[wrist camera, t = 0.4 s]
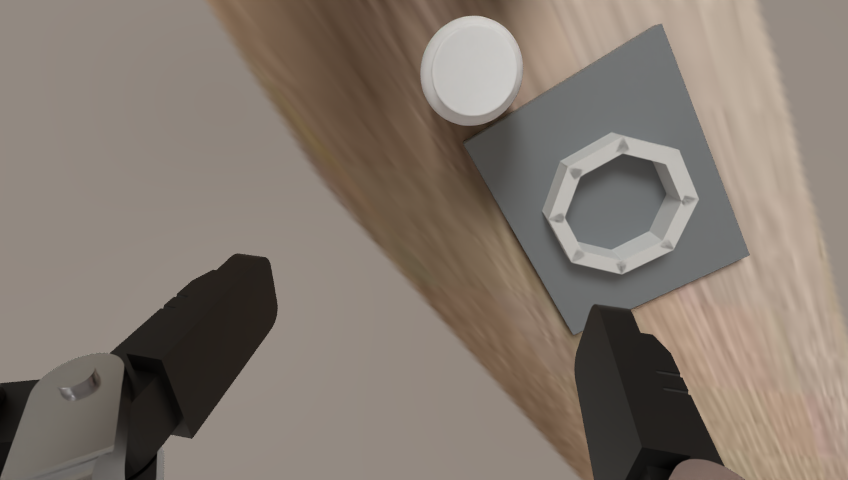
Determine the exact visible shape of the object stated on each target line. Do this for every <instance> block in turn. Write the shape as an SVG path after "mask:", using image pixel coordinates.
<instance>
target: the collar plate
mask: <svg viewBox="0 0 848 480" xmlns="http://www.w3.org/2000/svg"><path fill="white" fill-rule="evenodd" d="M463 144H464V146H465V148H466V150H467V151H468V153H469V155H470V157H471V158H472V160H473V162H474V163H475V165H476V167H477V169H478V170H479V172H480V174H481V176H482V177H483V179H484V181H485V183H486V184H487V186H488V188H489V190H490V191H491V193H492V195H493V197H494V198H495V200H496V202H497V203H498V205H499V207H500V209H501V210H502V212H503V214H504V216H505V217H506V219H507V221H508V223H509V224H510V226H511V228H512V230H513V231H514V233H515V235H516V236H517V238H518V240H519V242H520V243H521V245H522V247H523V249H524V250H525V252H526V254H527V256H528V257H529V259H530V261H531V263H532V264H533V266H534V268H535V269H536V271H537V273H538V275H539V276H540V278H541V280H542V282H543V283H544V285H545V287H546V289H547V290H548V292H549V294H550V296H551V297H552V299H553V301H554V303H555V304H556V306H557V308H558V309H559V311H560V313H561V315H562V316H563V318H564V320H565V322H566V323H567V325H568V327H569V329H570V330H571V332H572V334H573V335H575V334H577V333H579V332H581V331H583V330H584V327H585V324H586V321H587V318H588V315H589V312H590V309H591V307H592V306H593V305H594V304H599V305H606V306H613V307H620V308H627V309H632V308H634V307H636V306H639V305H641V304H643V303H645V302H647V301H650V300H652V299H654V298H656V297H658V296H661V295H663V294H665V293H667V292H669V291H672V290H674V289H676V288H678V287H680V286H683V285H685V284H687V283H689V282H692V281H694V280H696V279H698V278H700V277H703V276H705V275H707V274H709V273H711V272H714V271H716V270H718V269H720V268H722V267H725V266H727V265H729V264H731V263H733V262H736V261H738V260H740V259H742V258H744V257H747V256H749V255H750V254H749V252H748V249H747V247H746V244H745V241H744V239H743V236H742V233H741V231H740V228H739V225H738V223H737V220H736V218H735V215H734V212H733V210H732V207H731V204H730V202H729V199H728V197H727V194H726V191H725V189H724V186H723V183H722V181H721V178H720V176H719V173H718V170H717V168H716V165H715V162H714V160H713V157H712V155H711V152H710V149H709V147H708V144H707V141H706V139H705V136H704V134H703V131H702V128H701V126H700V123H699V120H698V118H697V115H696V112H695V110H694V107H693V105H692V102H691V99H690V97H689V94H688V91H687V89H686V86H685V84H684V81H683V78H682V76H681V73H680V70H679V68H678V65H677V63H676V60H675V57H674V55H673V52H672V49H671V47H670V44H669V42H668V39H667V36H666V34H665V31H664V28H663V26H662V24H658V25H654V26H653V27H651V28H649V29H648V30H646V31H644V32H643V33H641V34H639V35H638V36H636V37H635V38H633V39H631V40H630V41H628V42H626V43H625V44H623V45H621V46H620V47H618V48H616V49H615V50H613V51H612V52H610V53H608V54H607V55H605V56H603V57H602V58H600V59H598V60H597V61H595V62H594V63H592V64H590V65H589V66H587V67H585V68H584V69H582V70H580V71H579V72H577V73H576V74H574V75H572V76H571V77H569V78H567V79H566V80H564V81H562V82H561V83H559V84H557V85H556V86H554V87H553V88H551V89H549V90H548V91H546V92H544V93H543V94H541V95H539V96H538V97H536V98H535V99H533V100H531V101H530V102H528V103H526V104H525V105H523V106H521V107H520V108H518V109H517V110H515V111H513V112H512V113H510V114H508V115H507V116H505V117H503V118H502V119H500V120H498V121H497V122H495V123H494V124H492V125H490V126H489V127H487V128H485V129H484V130H482V131H480V132H479V133H477V134H476V135H474V136H472V137H471V138H469V139H467V140H466V141H464V142H463Z"/></svg>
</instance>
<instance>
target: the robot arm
mask: <svg viewBox="0 0 848 480" xmlns="http://www.w3.org/2000/svg"><path fill="white" fill-rule="evenodd" d="M277 306H278V305H277V299H276V294H275V287H274V281H273V276H272V270H271V265H270V262H269V260H268V259H267V258H266V257H260V256H252V255H245V254H234V255H233V256H231V257H230V258H229V259H228V260H227V261H226V262H225V263H224V264H223V265H222V266H220V267H219V268H218V269H217V270H212V271H210V272H208V273H206V274H204V275H202V276H200V277H198V278H196V279H194V280H192V281H191V282H190V283H189V284H188V285H187V286H186V287H184V288H183V289H182V290H181V291H180V292H179V293H178V294H177V296H176V297H173V298H172V299H171V300H170V301H168V302H167V303H166V304H165V305H164V308H163V309H159V310H158V311H157V312H156V313H155V314H154V315H153V316H151V317H150V318H149V319H148V320H147V321H146V322H145V323H144V324H142V325H141V326H140V327H139V328H138V329H137V330H136V331H134V332H133V333H132V334H131V335H130V336H129V337H128V338H127V339H125V340H124V341H123V342H122V343H121V344H120V345H119V346H118V347H116V348H115V349H114V350H113V351H112V352H111V353H109V354H108V353H96V354H90V355H85V356H82V357H78V358H75V359H73V360H70V361H68V362H66V363H64V364H62V365H60V366H59V367H56V368H55V369H53V370H52V371H50V372H49V373H48V374H46V375H45V376H44V377H43V378H42V379H40V380H30V381H21V382H9V383H0V480H164V451H163V448H162V445H163V444H164V443H165V441H166V440H167V439H168V437H169V436H170V435H176V436H181V437H187V438H191V439H192V438H193V437H194V435H195V434H196V433H197V431H198V430H199V429H200V427H201V426H202V424H203V423H204V421H205V420H206V419H207V417H208V416H209V415H210V413H211V412H212V411H213V409H214V407H215V406H216V405H217V404H218V402H219V401H220V399H221V398H222V397H223V395H224V394H225V392H226V391H227V390H228V388H229V387H230V385H231V384H232V383H233V381H234V380H235V379H236V377H237V376H238V374H239V373H240V372H241V370H242V369H243V368H244V366H245V365H246V363H247V362H248V361H249V359H250V358H251V356H252V355H253V354H254V352H255V351H256V349H257V348H258V347H259V345H260V344H261V343H262V341H263V340H264V338H265V337H266V336H267V334H268V333H269V331H270V330H271V329H272V327H273V325H274V323H275V320H276V316H277V309H278V308H277ZM575 380H576V386H577V391H578V396H579V402H580V407H581V412H582V418H583V423H584V428H585V434H586V439H587V444H588V450H589V455H590V460H591V466H592V471H593V476H594V480H745V479H743V478H742V477H741V476H739V475H738V474H736V473H735V472H733V471H731V470H730V469H728V468H726V467H725V466H724V464H723V462H722V460H721V458H720V456H719V454H718V452H717V450H716V448H715V445H714V443H713V441H712V439H711V437H710V435H709V433H708V431H707V429H706V426H705V424H704V422H703V420H702V418H701V416H700V414H699V412H698V410H697V408H696V405H695V403H694V401H693V399H692V397H691V395H688V389H687V386H686V384H685V382H684V380H683V378H682V377H680V372H679V370H678V368H677V365H676V363H675V361H674V359H673V357H672V355H671V353H670V352H669V351H668V350H667V349H666V348H665V347H664V346H663V345H662V344H661V343H660V342H659V341H658V340H657V339H656V338H655V337H654V336H653V335H651V334H644V333H640V331H639V328H638V326H637V323H636V321H635V318H634V316H633V314H632V312H631V310H630V309H627V308H620V307H613V306H606V305H599V304H594V305H593V306H592V307H591V309H590V312H589V315H588V318H587V321H586V324H585V327H584V330H583V334H582V337H581V340H580V343H579V346H578V349H577V352H576V357H575Z"/></svg>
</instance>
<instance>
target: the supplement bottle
mask: <svg viewBox="0 0 848 480" xmlns="http://www.w3.org/2000/svg"><path fill="white" fill-rule="evenodd" d="M522 76H523V61H522V55H521V52H520V49H519V46H518V44H517V42H516V40H515V39H514V37H513V36H512V34H511V33H510V32H509V31H508V30H507V29H506V28H505V27H504V26H502V25H501V24H499V23H498V22H496V21H494V20H492V19H489V18H486V17H482V16H466V17H461V18H458V19H455V20H453V21H451V22H449V23H448V24H446V25H444V26H443V27H442V28H441V29H440V30H438V31H437V33H436V34H435V35H434V36H433V37H432V39H431V40H430V42H429V43H428V45H427V47H426V49H425V51H424V54H423V58H422V62H421V71H420V77H421V85H422V89H423V92H424V95H425V97H426V99H427V101H428V103H429V104H430V106H431V107H432V108H433V109H434V111H435V112H436V113H438V114H439V115H440V116H441V117H443V118H444V119H446V120H448V121H450V122H452V123H455V124H459V125H464V126H474V125H480V124H484V123H487V122H490V121H491V120H493V119H495V118H497V117H498V116H500V115H501V114H502V113H503V112H504V111H506V109H507V108H508V107H509V106H510V105H511V104H512V102H513V101H514V99H515V97H516V96H517V94H518V91H519V89H520V86H521V82H522Z"/></svg>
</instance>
